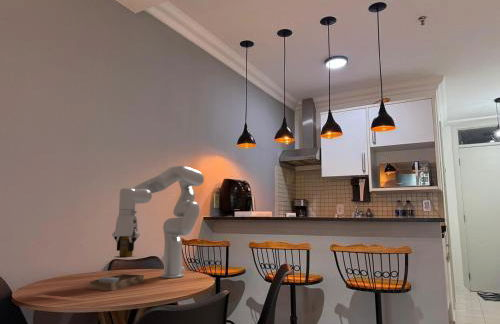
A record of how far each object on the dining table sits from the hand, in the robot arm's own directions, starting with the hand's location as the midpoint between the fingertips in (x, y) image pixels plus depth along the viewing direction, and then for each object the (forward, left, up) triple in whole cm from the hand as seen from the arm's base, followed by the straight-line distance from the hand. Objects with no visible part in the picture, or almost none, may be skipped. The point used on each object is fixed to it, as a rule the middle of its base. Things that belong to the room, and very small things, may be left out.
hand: (125, 250), depth 174 cm
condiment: (0, 0, -3) cm, 3 cm away
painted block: (+10, 0, -15) cm, 19 cm away
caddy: (+4, 0, -16) cm, 17 cm away
